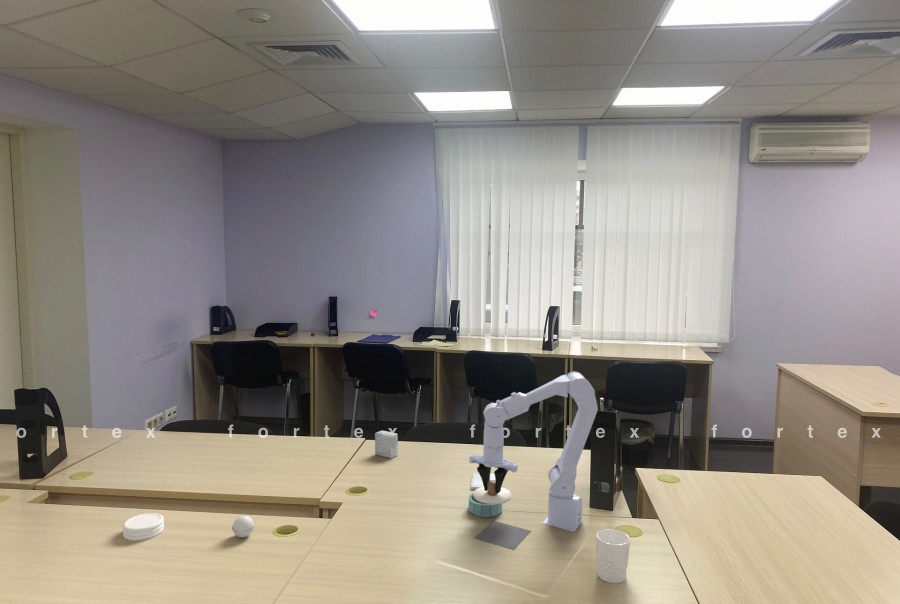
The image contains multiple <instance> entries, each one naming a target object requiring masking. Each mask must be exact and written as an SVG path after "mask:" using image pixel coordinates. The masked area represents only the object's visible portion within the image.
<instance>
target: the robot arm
mask: <svg viewBox="0 0 900 604" xmlns="http://www.w3.org/2000/svg"><path fill="white" fill-rule="evenodd" d="M568 394H569V395H570V397H571V398H572V399H573V400H574V401H575V403H576V405H577V408H578V409H577V411H576V414H575V417H574V419H573V423H572V425H571V428H570V430H569V433H568V436H567V438H566V441H565V443H564V447H563V449H562V451H561V455H560V457H559V458H558V459H557V460H556V462H555V464H554V466H552V467H551V468H550V470H549V471H548V480H549V482H550V483H551V485H550V487H549V489H548V497H547V498H548V501H547V502H548V504H547V517H546V518H545V520H544V521H542V524H544V525H548V526H551V527H555V528H557V529H558V528H559V529H563V530H566V531H570V532H575V531H576V530H577V529H578V527H579V526H580V525H581V524H582V522H584V521H583V498H582V497H581V496H579V495H577V494H575V491H576V478H577V475H578V474H577V472H578V470H577V467H578V464H579V461H580V460H581V456H582V454H583V450H584V449H585V444H586V442H587V439H588V437H589V435H590V431H591V429H592V427H593V424H594V421H595V419H596V415H597V413H598V410H599V409H598V403H597V398H596V393H595V389H594V388H593V386H592V385H591V383H590V381H589V380H588V379H586V378H585V376H584V375H583V374H582V373H581V372H578V371H570V372H568V373H567V374H563V375H560V376H558V377H556V378H554V379H553V380H551V381H549V382H547V383H545V384H543V385H541V386H539V387H537V388H535V389H533V390H531V391H529V392H527V393H522V392H520V391H519V392H517V393H516V391H514V392H512V393H510V396H507V397H506V398H503V399H501V400H500V399H497V400H496V401H495V403H494V402H490V403H489V404H487V405H486V406H485V407H484V410H483V417H484V425H483V426H484V429H483V455H480V454H479V455H477V454H471V455H470V456H469V464H478V466H477V468H476V470H477V473H479V474H480V476H481V479H482V482H483V486H484V490H485V491H487V482H488V481H489V480H490V473H492V471H491V470H492V468H496V470H494V471H493V473H494V474H495V481H496V486H495V492H496V493H497V494H498V493H499V492H500V491H501V487H502V488H503V483H504V481H505V478H506V476H507V474H508V472H509V471H510V472H512V473H516V472H517V471H518V466H519V465H518V463H516V462H515V463H514V462H512V461H509V460H507V459H504V434H505V432H504V423H505V421H506V420H510V419H512V418H514V417H516V416H519V415H522V414H524V413H526V412H528V411H529V409H530V407H531V405H533V404H536V403H538V402H541V401H544V400H546V399H550V398H551V397H553V396H561V397H565V398H568V397H569V395H568Z"/></svg>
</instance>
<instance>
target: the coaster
mask: <svg viewBox="0 0 900 604" xmlns="http://www.w3.org/2000/svg"><path fill="white" fill-rule="evenodd" d="M164 520H165V518H164V516H163V515H162V514H159V513H156V512H154V513H153V512H147V513H141V514H138V515H135V516H131V517H130V518H129V519H127V520H126V521H125V522H124V523H123V525H122V532H123V533H122V535H123V538H124V539H125V540H127V541H131V542H133V541H134V542H137V541H145V540H149V539H151V538H154V537H156V536H159V535H160V534H161V533H162V532H163V531H164V530H165V529H164V528H165V521H164Z"/></svg>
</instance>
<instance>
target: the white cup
mask: <svg viewBox="0 0 900 604" xmlns="http://www.w3.org/2000/svg"><path fill="white" fill-rule="evenodd" d="M595 537H596V538H595V539H596V545H595V546H596V547H595V548H596V550H595V551H596V555H595V556H596V566H597V576H598V578H599V579H600V580H602V581H604V582H605V583H609V584H610V583H611V584H620V583H624V582H625V580H626V579H627V571H628V566H629V565H628V564H629V563H628V562H629V554H630V543H631V539H630V538H631V537H630V536H629V535H628V534H627V533H625V532H623V531H621V530H618V529H612V528H604V529H600V530H598V531H597V532H596V534H595Z"/></svg>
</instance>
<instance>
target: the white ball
mask: <svg viewBox="0 0 900 604" xmlns="http://www.w3.org/2000/svg"><path fill="white" fill-rule="evenodd" d="M254 522H255V521H254V519H252V518H251V516H249V515H241V516H238V517H237V518H236V519H235V520H234V521H233V524H232V527H231V529H232V532H233V534H234V535H235V536H236V537H238V538H246V537H249V536H250V535H251V534H252V532H253V531H254V528H255V523H254Z"/></svg>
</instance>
